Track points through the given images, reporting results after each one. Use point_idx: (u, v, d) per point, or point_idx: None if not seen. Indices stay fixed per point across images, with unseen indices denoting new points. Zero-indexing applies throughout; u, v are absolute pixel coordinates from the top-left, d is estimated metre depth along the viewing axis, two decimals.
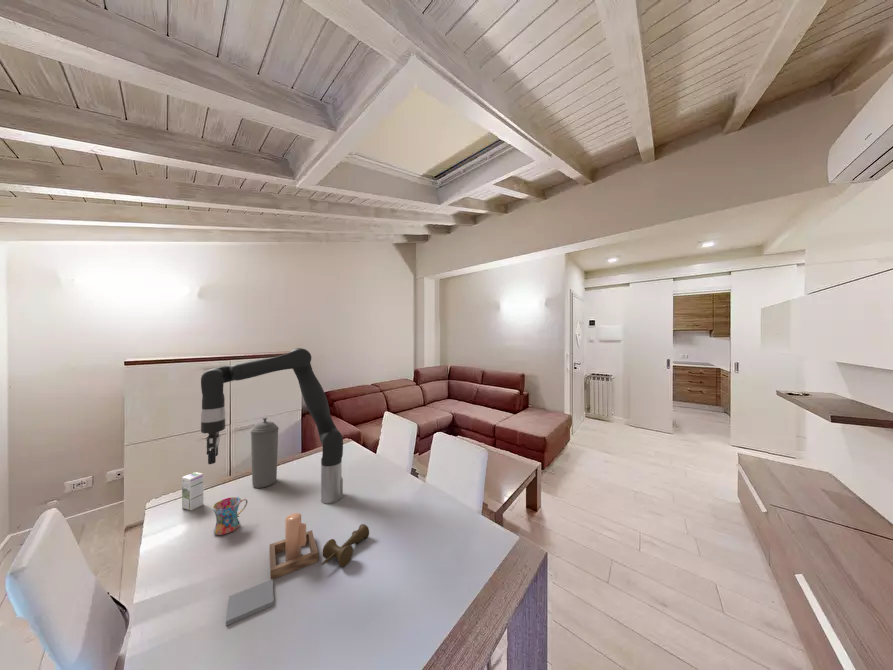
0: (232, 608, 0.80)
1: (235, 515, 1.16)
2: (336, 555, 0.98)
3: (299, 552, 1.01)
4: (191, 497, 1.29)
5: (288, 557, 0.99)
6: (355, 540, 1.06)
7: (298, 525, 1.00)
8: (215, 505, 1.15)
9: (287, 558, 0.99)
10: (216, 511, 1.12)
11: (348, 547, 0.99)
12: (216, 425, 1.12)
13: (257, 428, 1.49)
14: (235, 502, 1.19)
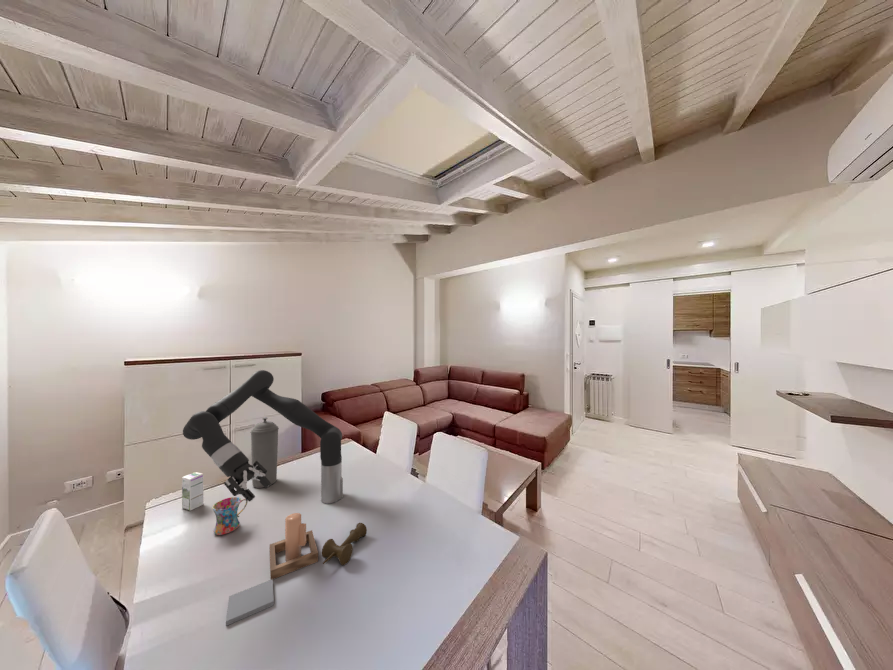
0: (232, 608, 0.80)
1: (235, 515, 1.16)
2: (336, 554, 0.99)
3: (299, 552, 1.01)
4: (191, 497, 1.29)
5: (288, 557, 0.99)
6: (354, 539, 1.07)
7: (298, 525, 1.00)
8: (215, 505, 1.15)
9: (287, 558, 0.99)
10: (216, 511, 1.12)
11: (348, 545, 0.99)
12: None
13: (257, 428, 1.49)
14: (235, 502, 1.19)
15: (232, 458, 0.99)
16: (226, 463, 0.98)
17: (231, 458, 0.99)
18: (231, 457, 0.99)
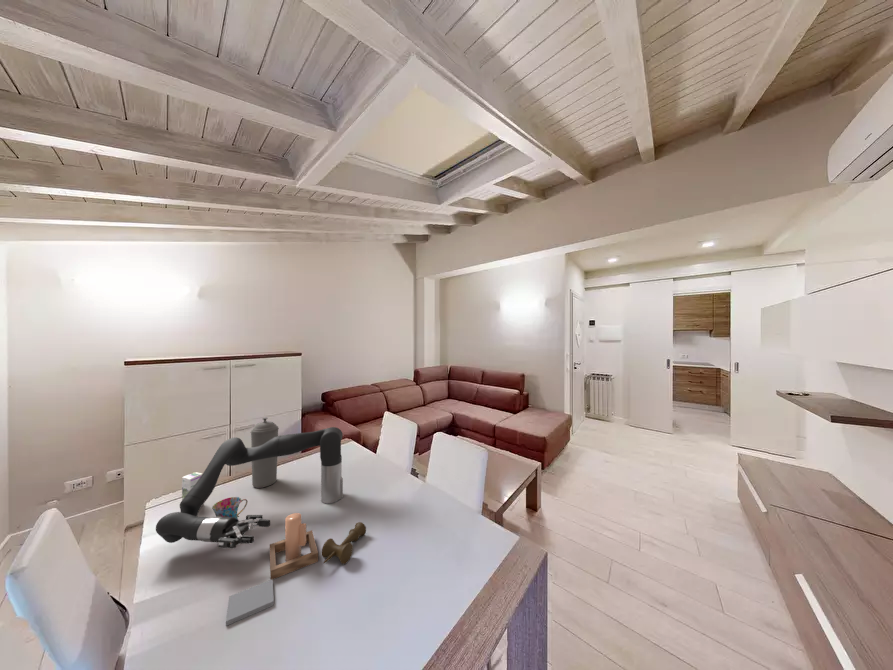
0: (232, 608, 0.80)
1: (235, 515, 1.16)
2: (336, 553, 0.99)
3: (299, 552, 1.01)
4: None
5: (288, 557, 0.99)
6: (353, 538, 1.07)
7: (298, 525, 1.00)
8: (215, 505, 1.15)
9: (287, 558, 0.99)
10: (216, 511, 1.12)
11: (348, 544, 1.00)
12: None
13: (257, 428, 1.49)
14: (235, 502, 1.19)
15: (214, 525, 1.00)
16: (212, 532, 0.99)
17: (213, 526, 1.00)
18: (213, 525, 1.00)
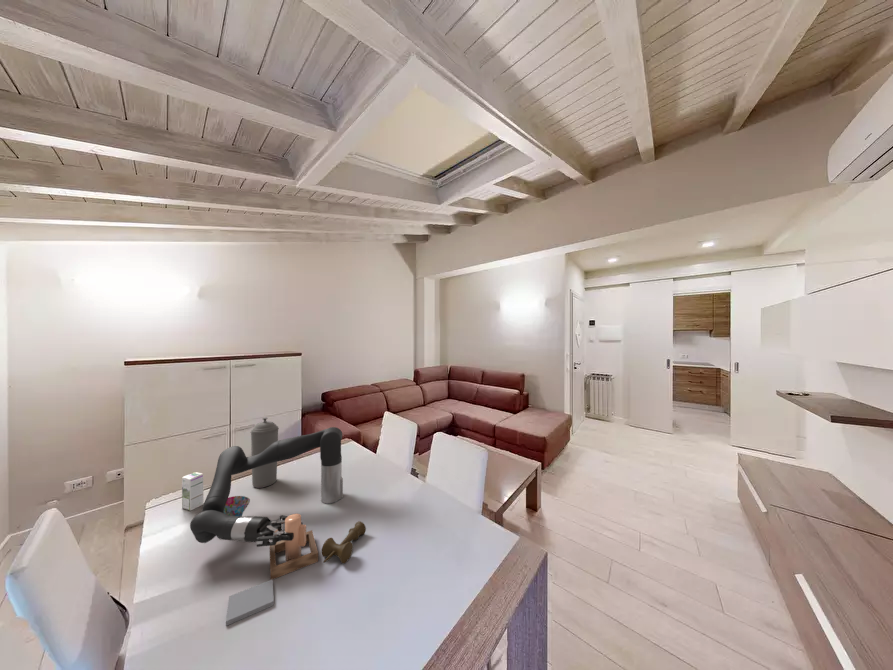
0: (232, 608, 0.80)
1: (242, 513, 1.17)
2: (336, 552, 0.99)
3: (299, 552, 1.01)
4: (191, 497, 1.29)
5: (288, 557, 0.99)
6: (353, 537, 1.07)
7: (298, 526, 0.99)
8: None
9: (287, 558, 0.99)
10: (229, 508, 1.12)
11: (348, 544, 1.00)
12: None
13: (257, 428, 1.49)
14: (239, 501, 1.20)
15: (248, 524, 0.99)
16: (246, 532, 0.98)
17: (248, 525, 0.99)
18: (247, 524, 0.99)
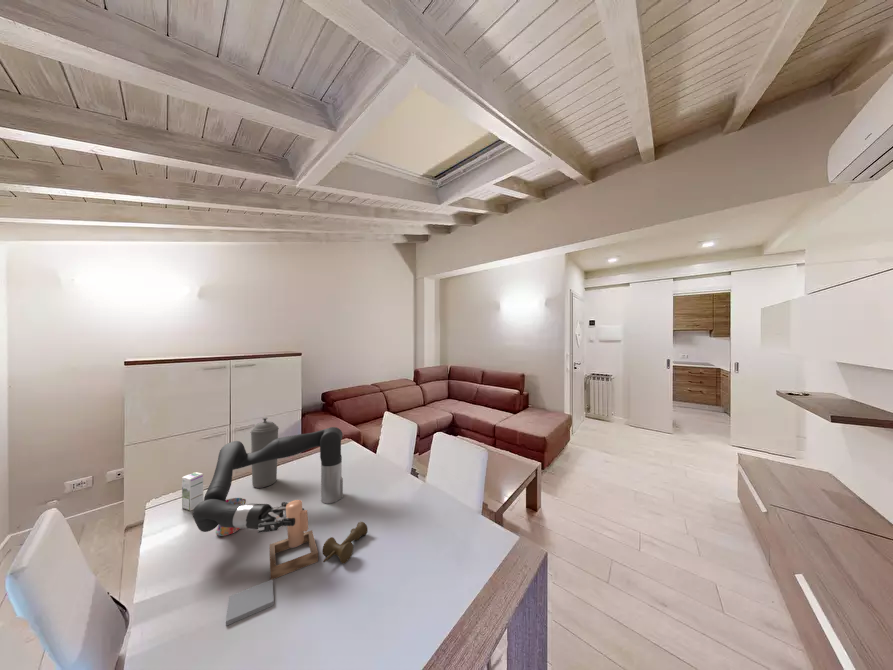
0: (232, 608, 0.80)
1: None
2: (336, 552, 0.99)
3: (302, 537, 1.01)
4: (191, 497, 1.29)
5: (291, 542, 0.99)
6: (354, 538, 1.07)
7: (299, 512, 1.00)
8: None
9: (290, 543, 0.99)
10: None
11: (348, 544, 1.00)
12: None
13: (257, 428, 1.49)
14: (235, 503, 1.19)
15: (249, 511, 0.99)
16: (248, 519, 0.98)
17: (249, 512, 0.99)
18: (249, 512, 0.99)
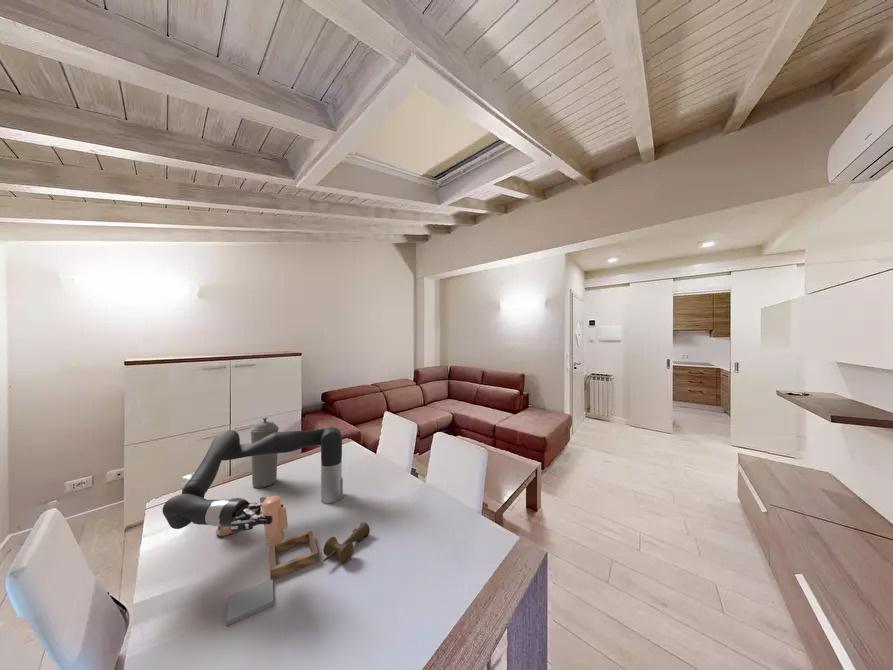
0: (232, 608, 0.80)
1: None
2: (337, 552, 0.99)
3: (281, 535, 0.93)
4: None
5: (269, 541, 0.91)
6: (356, 538, 1.07)
7: (276, 509, 0.91)
8: None
9: (268, 542, 0.91)
10: None
11: (349, 544, 1.00)
12: None
13: (257, 428, 1.49)
14: None
15: (223, 508, 0.91)
16: (221, 516, 0.90)
17: (223, 509, 0.91)
18: (222, 508, 0.91)
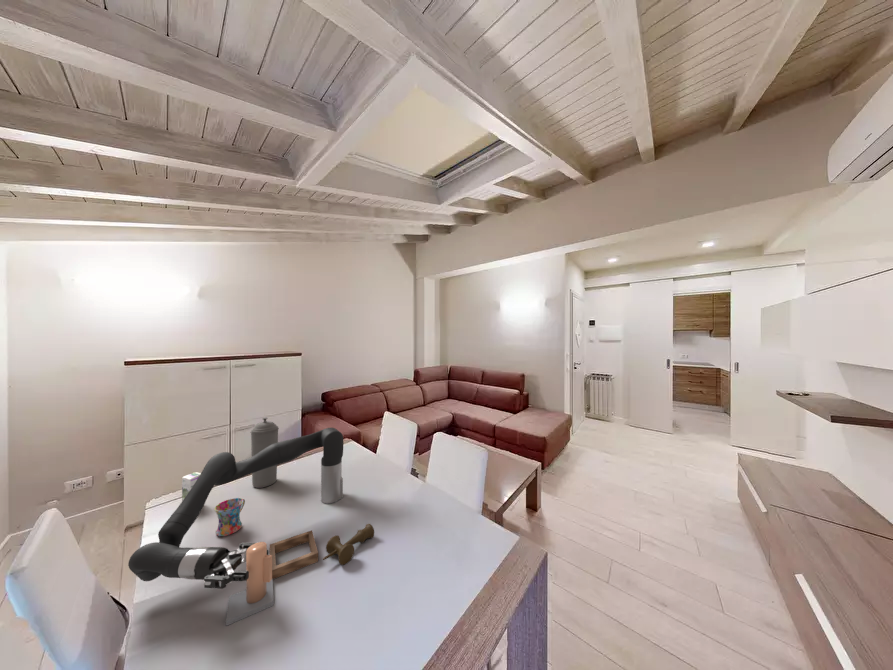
0: (232, 608, 0.80)
1: (239, 514, 1.17)
2: (337, 552, 1.00)
3: (263, 590, 0.84)
4: None
5: (249, 597, 0.82)
6: (359, 540, 1.06)
7: (262, 557, 0.84)
8: (216, 509, 1.13)
9: (248, 598, 0.82)
10: (224, 512, 1.11)
11: (348, 546, 0.99)
12: None
13: (257, 428, 1.49)
14: (234, 503, 1.19)
15: (199, 559, 0.82)
16: (196, 568, 0.81)
17: (199, 560, 0.82)
18: (198, 559, 0.82)
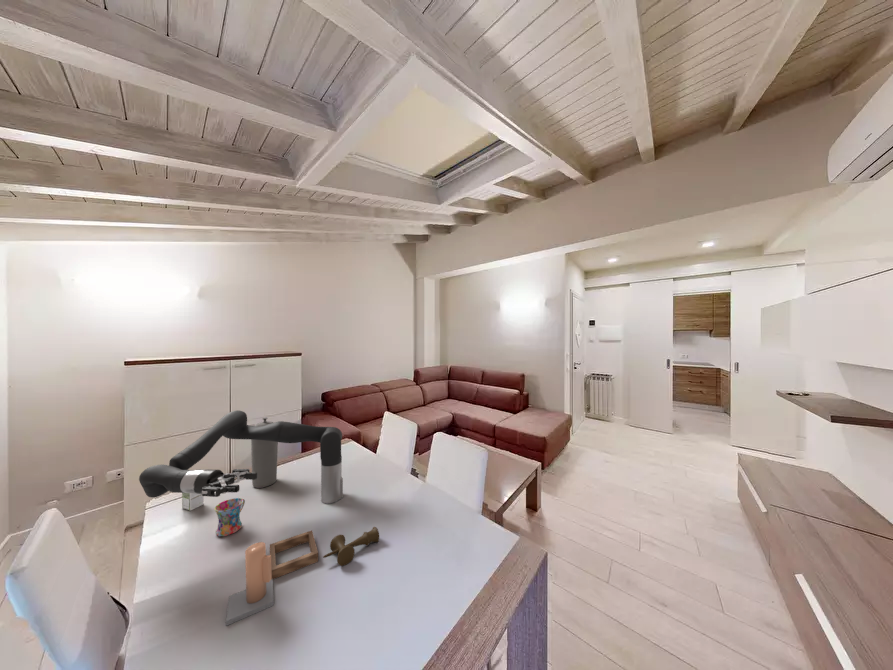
0: (232, 608, 0.80)
1: (239, 514, 1.17)
2: (338, 552, 1.00)
3: (263, 590, 0.84)
4: (191, 497, 1.29)
5: (249, 597, 0.82)
6: (362, 542, 1.05)
7: (261, 558, 0.84)
8: (216, 509, 1.13)
9: (248, 598, 0.82)
10: (223, 512, 1.11)
11: (348, 547, 0.98)
12: None
13: None
14: (234, 503, 1.19)
15: (198, 476, 0.96)
16: (196, 483, 0.95)
17: (198, 477, 0.96)
18: (197, 476, 0.96)
